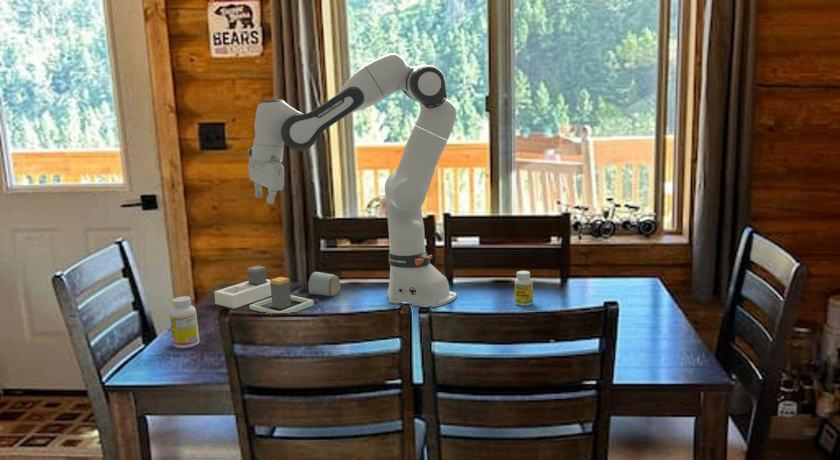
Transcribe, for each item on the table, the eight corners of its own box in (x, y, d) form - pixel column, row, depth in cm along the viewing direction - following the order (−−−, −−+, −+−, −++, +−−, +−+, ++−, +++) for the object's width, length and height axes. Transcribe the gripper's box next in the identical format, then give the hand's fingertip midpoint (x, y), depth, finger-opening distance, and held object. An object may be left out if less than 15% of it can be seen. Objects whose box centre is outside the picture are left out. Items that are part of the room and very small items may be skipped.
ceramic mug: (331, 300, 228) (329, 276, 226) (308, 298, 230) (307, 275, 229) (346, 291, 237) (345, 268, 236) (324, 289, 240) (323, 266, 239)
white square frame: (314, 306, 221) (313, 300, 221) (280, 319, 211) (279, 312, 210) (283, 300, 230) (283, 293, 229) (250, 312, 219) (249, 305, 219)
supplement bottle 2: (534, 301, 218) (533, 270, 216) (531, 306, 213) (531, 275, 211) (516, 300, 220) (516, 269, 218) (513, 305, 215) (512, 274, 213)
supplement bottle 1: (177, 341, 197) (171, 295, 194) (201, 339, 197) (196, 294, 195) (171, 350, 190) (165, 303, 188) (196, 348, 191) (191, 301, 188)
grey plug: (291, 306, 220) (289, 278, 219) (281, 310, 217) (279, 281, 215) (282, 304, 223) (280, 276, 221) (272, 308, 220) (270, 279, 218)
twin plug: (267, 294, 233) (265, 267, 232) (257, 297, 230) (255, 270, 228) (259, 292, 236) (257, 265, 234) (249, 295, 233) (247, 268, 231)
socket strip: (279, 296, 234) (277, 281, 233) (234, 311, 220) (232, 295, 219) (260, 292, 239) (259, 277, 238) (215, 306, 226) (214, 291, 224)
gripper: (291, 159, 207) (287, 207, 209) (265, 150, 224) (262, 194, 226) (270, 158, 203) (266, 206, 206) (246, 149, 220) (242, 194, 223)
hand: (264, 200), depth 216 cm, fingers open, 8 cm apart
